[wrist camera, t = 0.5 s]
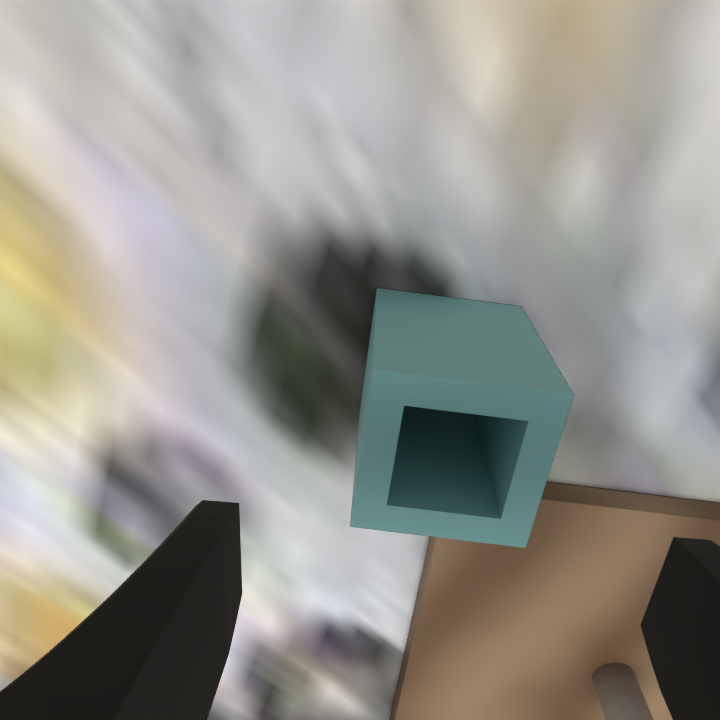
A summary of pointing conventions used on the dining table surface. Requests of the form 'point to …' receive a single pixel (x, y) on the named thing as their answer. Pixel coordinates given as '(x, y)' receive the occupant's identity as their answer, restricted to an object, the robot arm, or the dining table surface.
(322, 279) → the dining table surface
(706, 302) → the dining table surface
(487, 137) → the dining table surface
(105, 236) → the dining table surface
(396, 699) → the shaft base
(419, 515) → the teal square sleeve
